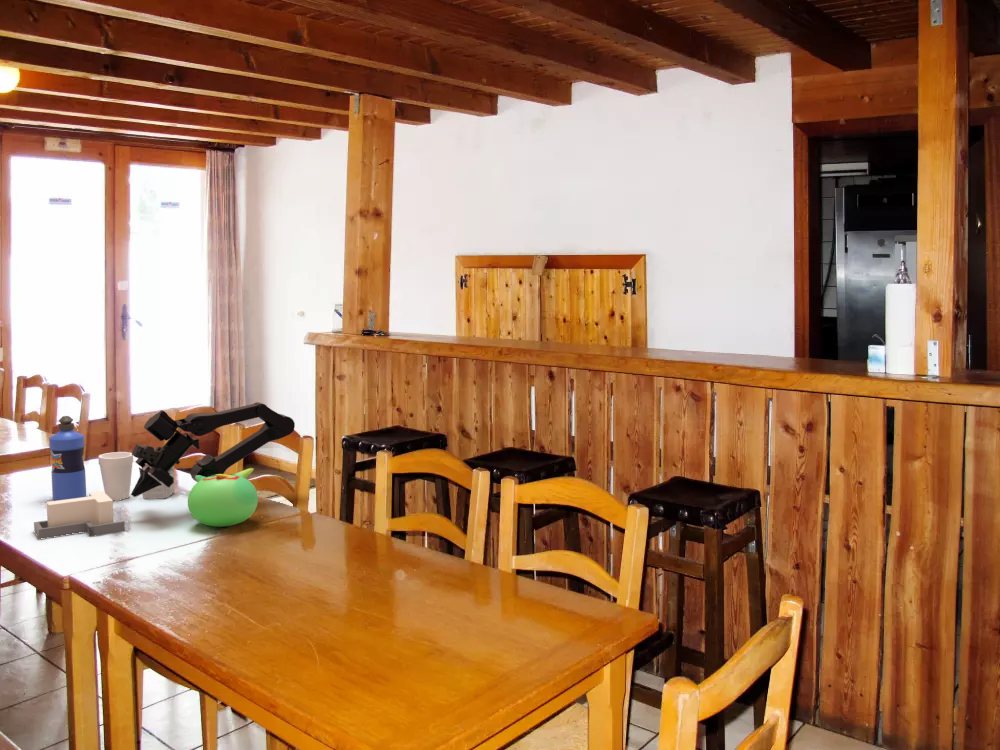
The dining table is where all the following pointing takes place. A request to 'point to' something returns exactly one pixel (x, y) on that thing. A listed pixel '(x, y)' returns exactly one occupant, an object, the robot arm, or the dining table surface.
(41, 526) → the t outline
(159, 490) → the supplement box
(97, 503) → the t block
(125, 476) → the foam cup
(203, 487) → the green rounded blob
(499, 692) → the dining table surface
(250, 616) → the dining table surface
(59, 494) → the water bottle
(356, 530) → the dining table surface
